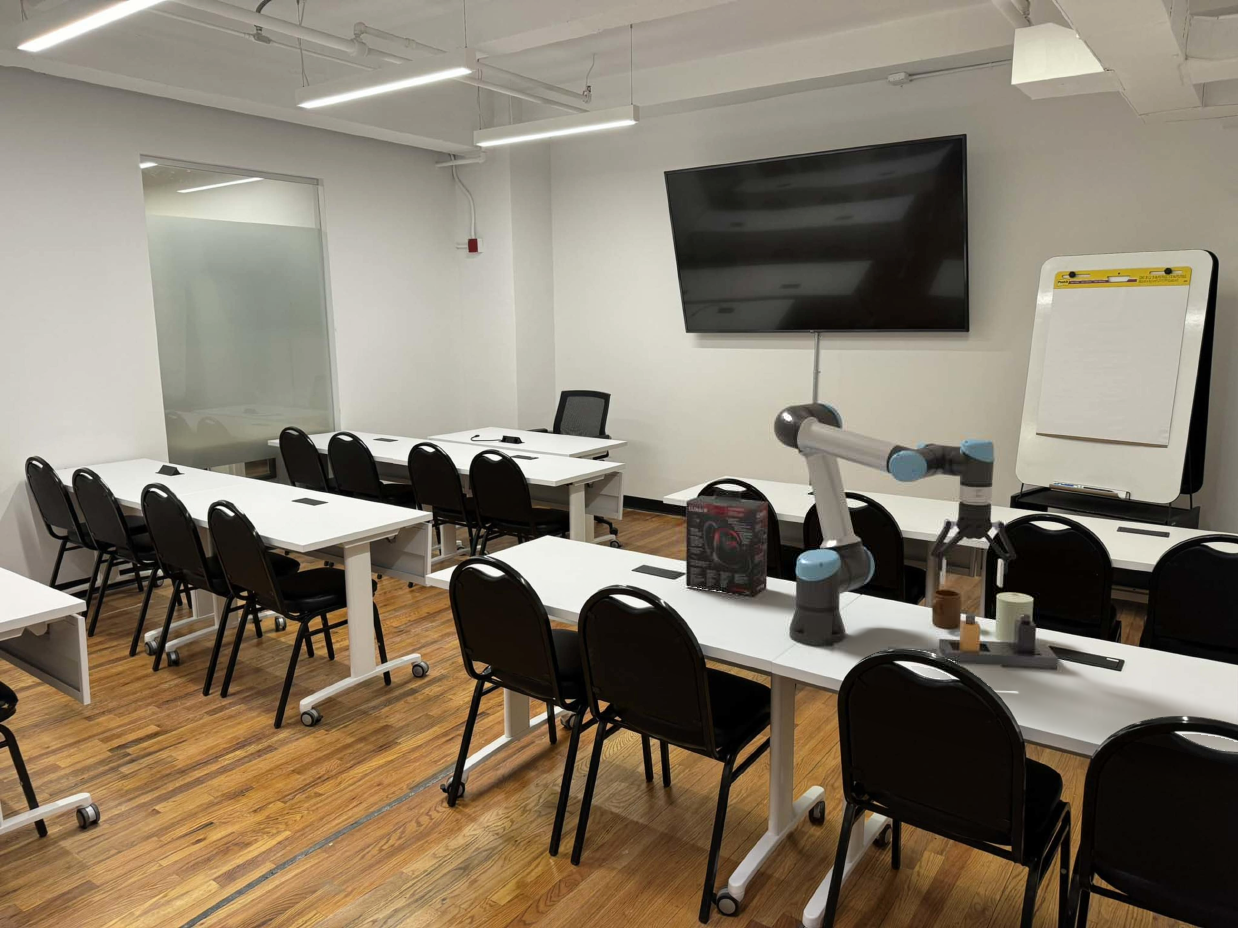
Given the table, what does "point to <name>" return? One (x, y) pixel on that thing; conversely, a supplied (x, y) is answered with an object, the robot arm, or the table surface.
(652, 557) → the table surface
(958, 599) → the mug
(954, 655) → the grey fixture base
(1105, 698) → the table surface
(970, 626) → the orange bottle
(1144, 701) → the table surface
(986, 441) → the robot arm
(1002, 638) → the can
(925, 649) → the parts mat
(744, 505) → the headset box
